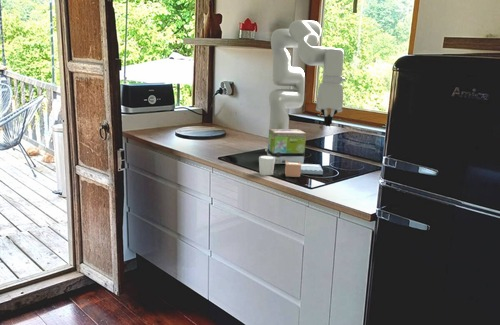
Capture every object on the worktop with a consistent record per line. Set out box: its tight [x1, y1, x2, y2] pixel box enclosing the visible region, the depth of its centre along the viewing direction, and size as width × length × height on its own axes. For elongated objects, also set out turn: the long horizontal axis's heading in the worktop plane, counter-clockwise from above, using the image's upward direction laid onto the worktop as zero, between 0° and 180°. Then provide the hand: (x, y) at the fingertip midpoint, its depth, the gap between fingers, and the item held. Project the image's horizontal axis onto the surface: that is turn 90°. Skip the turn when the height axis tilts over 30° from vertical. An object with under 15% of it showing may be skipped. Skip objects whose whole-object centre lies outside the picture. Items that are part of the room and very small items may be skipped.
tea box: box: [266, 128, 307, 165], centre depth 212 cm, size 15×10×15 cm
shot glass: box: [258, 155, 275, 176], centre depth 192 cm, size 7×7×7 cm
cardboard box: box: [284, 161, 301, 178], centre depth 192 cm, size 5×6×5 cm
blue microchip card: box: [300, 163, 324, 175], centre depth 200 cm, size 11×14×2 cm
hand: (327, 125), depth 187 cm, fingers closed
